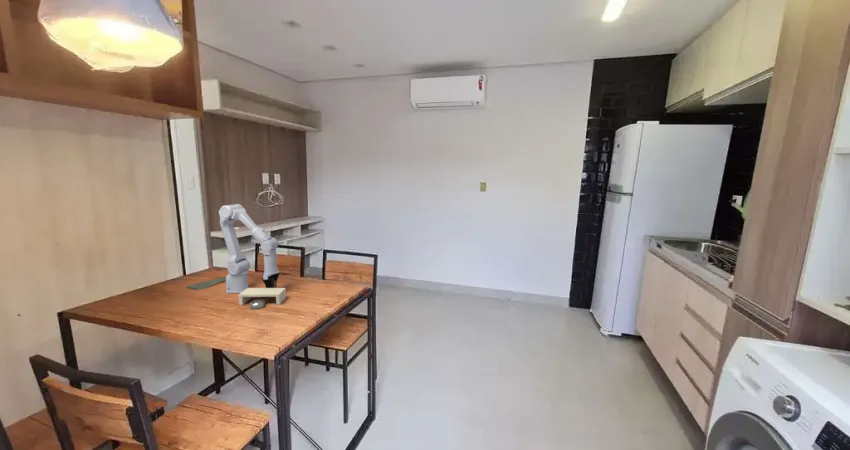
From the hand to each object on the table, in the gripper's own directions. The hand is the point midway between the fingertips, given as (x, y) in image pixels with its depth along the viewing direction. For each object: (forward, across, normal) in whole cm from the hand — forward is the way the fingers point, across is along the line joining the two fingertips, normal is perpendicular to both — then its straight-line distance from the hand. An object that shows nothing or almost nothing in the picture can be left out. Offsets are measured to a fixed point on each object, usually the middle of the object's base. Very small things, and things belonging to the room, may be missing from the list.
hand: (271, 289), depth 174 cm
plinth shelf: (+2, -11, 0) cm, 11 cm away
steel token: (+2, -18, 0) cm, 18 cm away
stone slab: (+3, +16, +38) cm, 41 cm away
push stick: (+2, -6, 0) cm, 7 cm away
